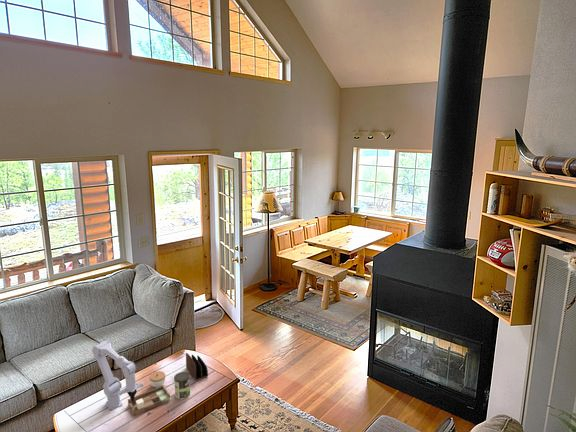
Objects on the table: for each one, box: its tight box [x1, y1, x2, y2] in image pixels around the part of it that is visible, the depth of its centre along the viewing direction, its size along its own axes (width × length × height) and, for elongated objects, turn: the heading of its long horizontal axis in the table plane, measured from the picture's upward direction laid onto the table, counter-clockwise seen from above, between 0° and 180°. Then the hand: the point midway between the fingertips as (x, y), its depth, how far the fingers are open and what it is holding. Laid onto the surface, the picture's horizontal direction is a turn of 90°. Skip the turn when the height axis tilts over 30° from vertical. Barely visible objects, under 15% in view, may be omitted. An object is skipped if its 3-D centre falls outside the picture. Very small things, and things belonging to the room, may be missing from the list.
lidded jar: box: [149, 370, 166, 389], centre depth 276 cm, size 11×11×9 cm
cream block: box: [135, 398, 144, 409], centre depth 252 cm, size 4×4×4 cm
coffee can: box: [173, 371, 191, 400], centre depth 266 cm, size 10×10×14 cm
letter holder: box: [185, 352, 209, 382], centre depth 291 cm, size 10×20×14 cm, turn 34°
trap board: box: [127, 385, 171, 416], centre depth 259 cm, size 12×24×4 cm, turn 128°
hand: (132, 400), depth 248 cm, fingers closed
